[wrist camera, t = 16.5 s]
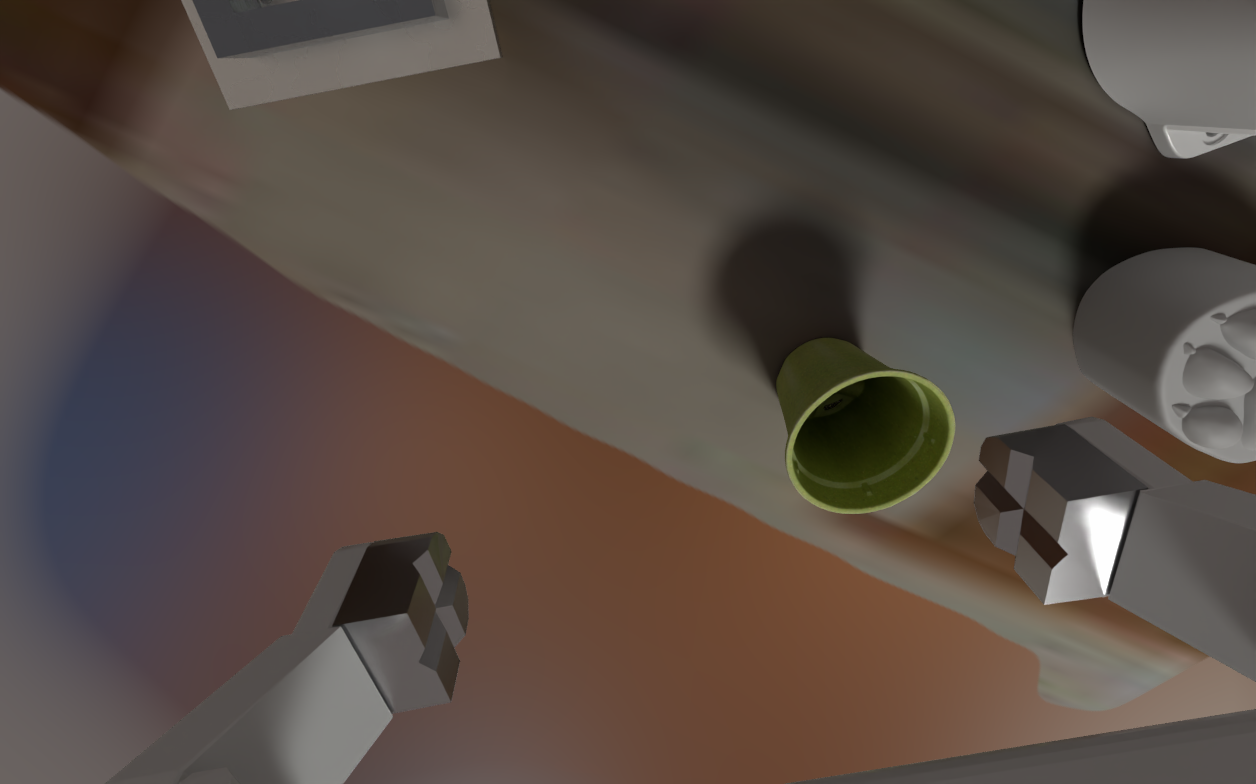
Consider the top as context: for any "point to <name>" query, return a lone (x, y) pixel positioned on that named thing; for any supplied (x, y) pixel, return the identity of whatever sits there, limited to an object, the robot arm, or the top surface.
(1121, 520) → the robot arm
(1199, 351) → the lumpy-topped squat cylinder
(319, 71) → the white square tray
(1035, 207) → the top surface
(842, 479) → the plant pot
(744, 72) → the top surface
